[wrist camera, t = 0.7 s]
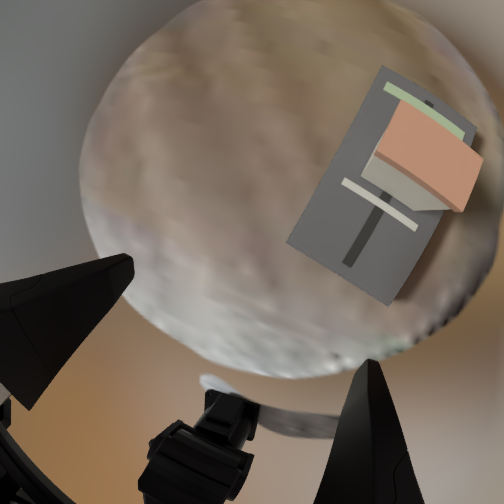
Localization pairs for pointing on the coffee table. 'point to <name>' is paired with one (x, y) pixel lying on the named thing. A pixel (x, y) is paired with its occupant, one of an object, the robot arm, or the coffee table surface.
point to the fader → (423, 163)
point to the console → (372, 198)
